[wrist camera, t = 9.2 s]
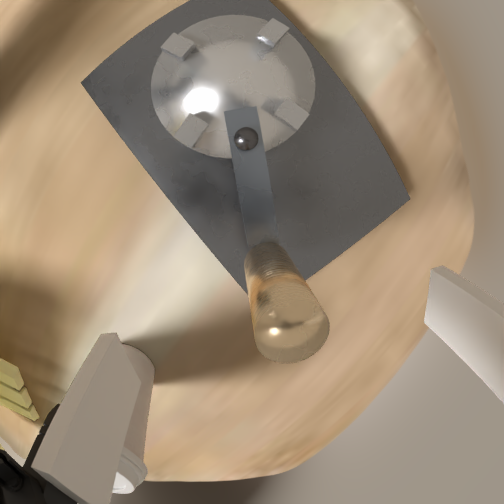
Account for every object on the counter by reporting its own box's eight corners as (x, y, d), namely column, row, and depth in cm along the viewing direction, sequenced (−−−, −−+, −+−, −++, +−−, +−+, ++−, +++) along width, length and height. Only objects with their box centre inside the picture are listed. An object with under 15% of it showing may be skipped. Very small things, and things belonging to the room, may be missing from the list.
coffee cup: (131, 319, 26) (73, 434, 11) (184, 381, 28) (168, 496, 14) (77, 347, 26) (20, 439, 12) (127, 400, 29) (98, 495, 15)
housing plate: (90, 87, 19) (80, 82, 16) (239, -13, 16) (240, -25, 14) (259, 300, 26) (261, 311, 24) (399, 195, 24) (411, 199, 22)
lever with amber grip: (154, 47, 16) (95, -36, 5) (289, 26, 17) (337, -65, 5) (196, 276, 22) (170, 381, 11) (328, 251, 23) (408, 329, 11)
